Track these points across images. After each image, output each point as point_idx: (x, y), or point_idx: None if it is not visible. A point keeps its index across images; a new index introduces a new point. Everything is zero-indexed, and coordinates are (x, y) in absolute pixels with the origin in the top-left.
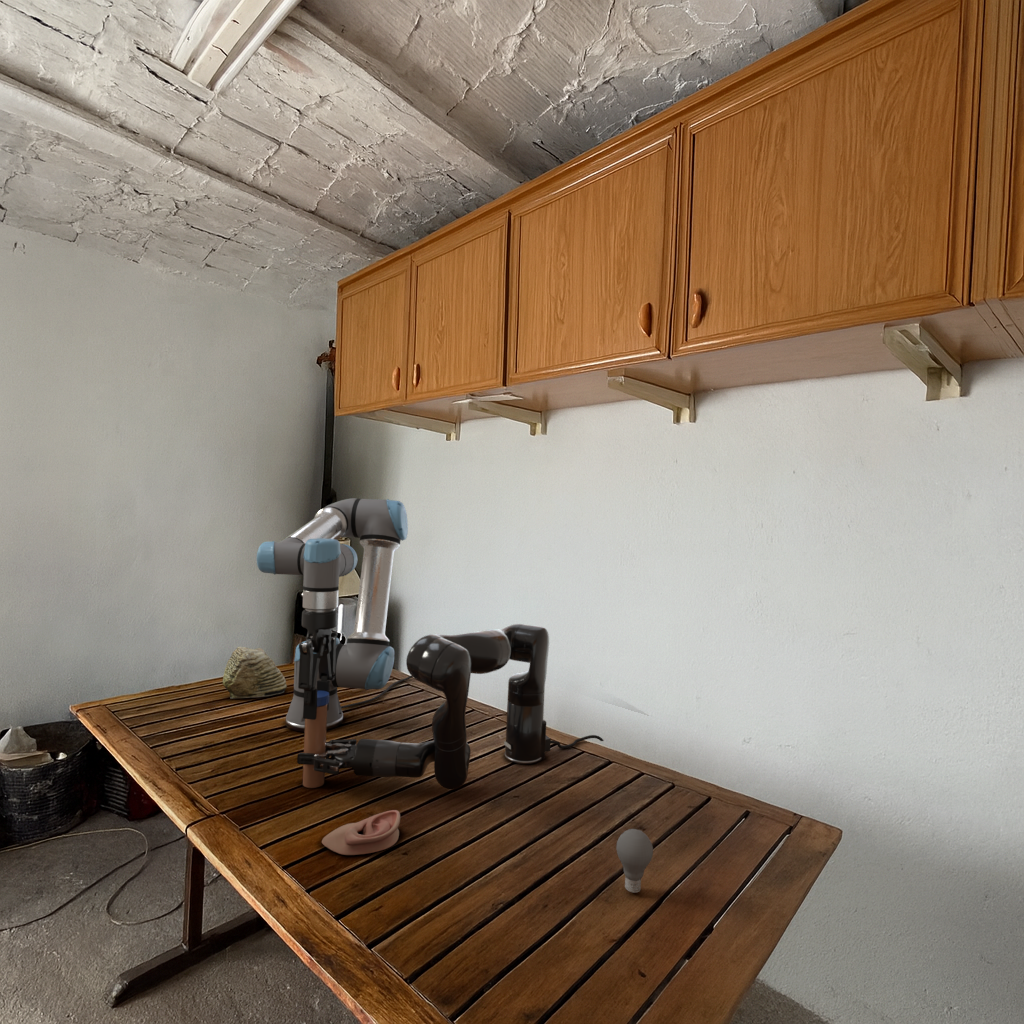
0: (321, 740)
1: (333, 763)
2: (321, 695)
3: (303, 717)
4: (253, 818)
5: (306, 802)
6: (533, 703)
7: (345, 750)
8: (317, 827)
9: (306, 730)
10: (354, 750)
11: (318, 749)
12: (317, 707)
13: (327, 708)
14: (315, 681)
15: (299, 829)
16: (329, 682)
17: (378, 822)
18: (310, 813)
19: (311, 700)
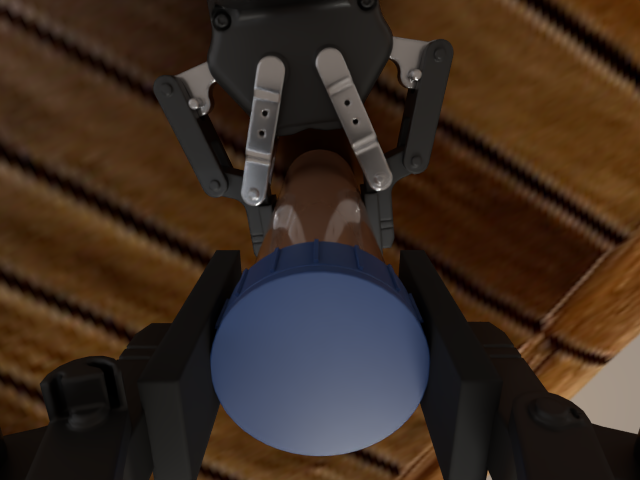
0: (346, 191)
1: (450, 64)
2: (348, 320)
3: None
4: (561, 240)
5: (449, 143)
6: None
7: (339, 54)
8: (606, 27)
9: None
10: (282, 29)
11: (354, 189)
12: None
13: (232, 256)
14: (550, 468)
15: (619, 79)
16: (152, 372)
17: None
18: (518, 95)
19: (486, 341)
